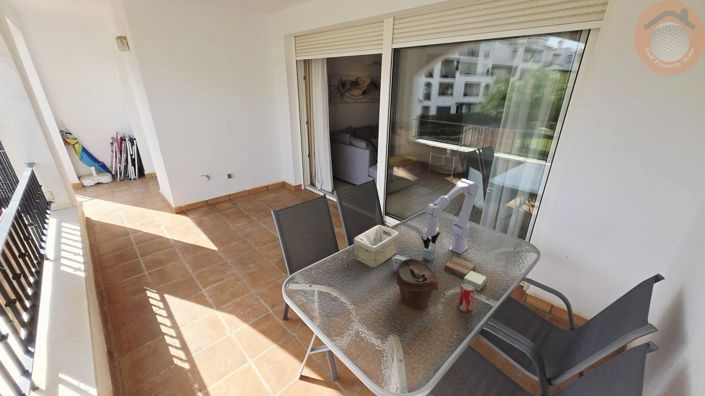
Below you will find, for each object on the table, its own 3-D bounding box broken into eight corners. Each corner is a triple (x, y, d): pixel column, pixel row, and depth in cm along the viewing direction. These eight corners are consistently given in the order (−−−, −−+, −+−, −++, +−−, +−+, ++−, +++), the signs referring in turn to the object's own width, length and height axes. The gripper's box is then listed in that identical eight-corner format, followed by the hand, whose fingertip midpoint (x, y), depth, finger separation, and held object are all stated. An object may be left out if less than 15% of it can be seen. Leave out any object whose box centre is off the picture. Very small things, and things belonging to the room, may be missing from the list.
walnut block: (454, 260, 162) (455, 256, 161) (475, 268, 154) (475, 264, 153) (444, 269, 154) (444, 265, 153) (465, 278, 146) (466, 274, 145)
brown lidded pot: (430, 321, 120) (433, 286, 113) (387, 304, 130) (388, 271, 124) (441, 297, 134) (445, 265, 128) (402, 283, 144) (404, 253, 138)
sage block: (470, 276, 148) (470, 270, 146) (485, 283, 142) (486, 277, 141) (463, 284, 142) (464, 277, 141) (479, 291, 137) (480, 284, 136)
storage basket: (373, 270, 154) (374, 247, 149) (352, 259, 165) (352, 237, 160) (399, 253, 170) (400, 231, 165) (378, 244, 181) (378, 223, 175)
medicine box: (393, 271, 153) (393, 258, 150) (395, 267, 157) (396, 254, 153) (407, 275, 149) (407, 261, 146) (409, 271, 153) (410, 257, 150)
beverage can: (465, 315, 123) (468, 293, 118) (454, 306, 128) (457, 284, 123) (475, 310, 125) (478, 288, 121) (464, 301, 130) (467, 280, 126)
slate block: (427, 254, 168) (428, 246, 166) (434, 257, 165) (435, 248, 163) (423, 257, 165) (424, 249, 163) (430, 260, 162) (431, 251, 160)
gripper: (432, 218, 164) (430, 238, 169) (418, 226, 155) (417, 248, 160) (443, 222, 160) (441, 242, 165) (429, 230, 150) (427, 252, 155)
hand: (429, 245), depth 162 cm, fingers open, 7 cm apart
